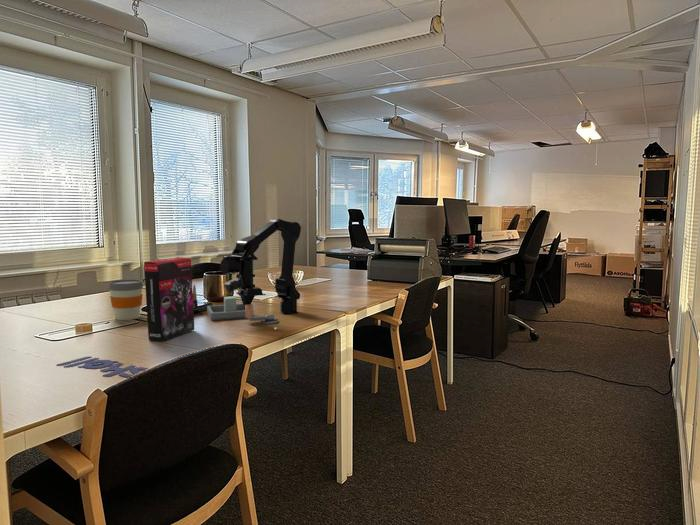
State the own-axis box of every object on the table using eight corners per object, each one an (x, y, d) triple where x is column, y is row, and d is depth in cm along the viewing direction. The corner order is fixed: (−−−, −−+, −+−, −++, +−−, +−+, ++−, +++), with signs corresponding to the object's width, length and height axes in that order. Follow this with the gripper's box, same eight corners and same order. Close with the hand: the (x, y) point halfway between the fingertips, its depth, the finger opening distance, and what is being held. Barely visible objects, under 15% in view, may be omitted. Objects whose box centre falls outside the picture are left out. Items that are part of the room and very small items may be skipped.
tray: (246, 310, 214) (246, 303, 213) (253, 317, 199) (253, 310, 199) (207, 312, 207) (207, 305, 207) (211, 320, 193) (211, 313, 192)
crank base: (275, 319, 196) (275, 317, 196) (286, 329, 181) (286, 327, 181) (258, 320, 193) (258, 319, 193) (267, 330, 178) (267, 328, 178)
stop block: (234, 312, 206) (234, 296, 205) (236, 314, 202) (236, 298, 201) (224, 313, 204) (223, 296, 204) (225, 315, 200) (225, 298, 199)
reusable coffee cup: (149, 317, 197) (148, 281, 195) (117, 322, 188) (116, 285, 186) (136, 313, 205) (134, 278, 204) (105, 317, 196) (103, 281, 195)
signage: (156, 368, 134) (125, 380, 125) (156, 371, 134) (125, 382, 125) (88, 354, 146) (56, 364, 137) (88, 357, 146) (56, 366, 137)
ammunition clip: (176, 315, 202) (175, 287, 201) (173, 314, 203) (173, 286, 202) (198, 311, 211) (197, 284, 209) (195, 310, 212) (194, 283, 210)
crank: (273, 318, 194) (273, 302, 193) (275, 320, 190) (275, 304, 189) (244, 320, 190) (244, 304, 189) (246, 322, 186) (246, 306, 185)
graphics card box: (161, 342, 161) (159, 262, 158) (145, 340, 164) (142, 261, 161) (195, 330, 177) (193, 257, 174) (179, 329, 179) (177, 256, 176)
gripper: (218, 270, 193) (218, 308, 195) (234, 275, 178) (235, 317, 179) (244, 268, 199) (245, 305, 201) (262, 273, 184) (262, 313, 186)
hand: (246, 310), depth 192 cm, fingers closed
